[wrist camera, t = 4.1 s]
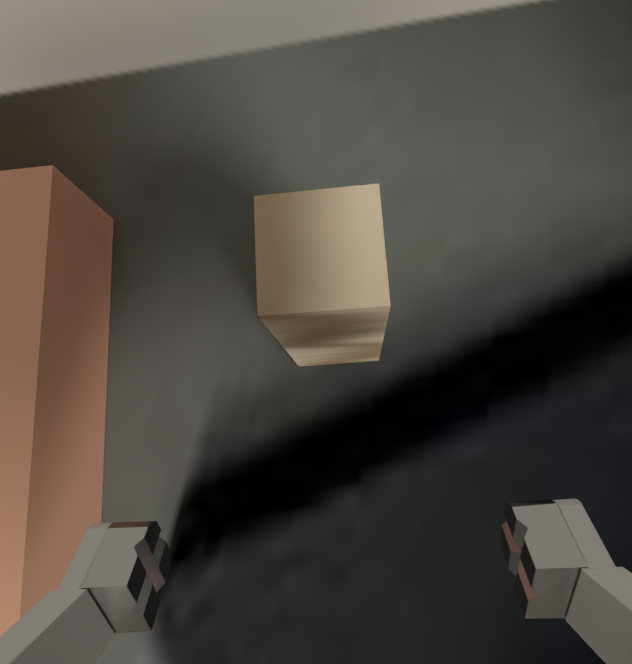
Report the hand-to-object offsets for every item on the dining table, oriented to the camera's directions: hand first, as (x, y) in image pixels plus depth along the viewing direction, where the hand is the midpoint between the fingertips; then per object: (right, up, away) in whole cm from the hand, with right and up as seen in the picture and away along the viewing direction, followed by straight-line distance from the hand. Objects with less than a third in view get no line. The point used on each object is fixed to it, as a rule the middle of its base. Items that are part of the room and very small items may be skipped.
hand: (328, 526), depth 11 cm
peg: (+1, +5, +13) cm, 14 cm away
